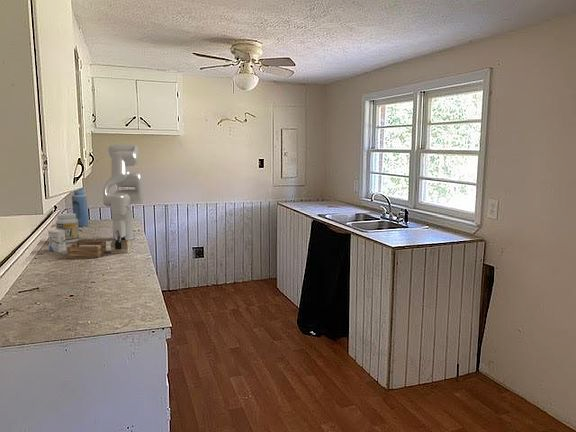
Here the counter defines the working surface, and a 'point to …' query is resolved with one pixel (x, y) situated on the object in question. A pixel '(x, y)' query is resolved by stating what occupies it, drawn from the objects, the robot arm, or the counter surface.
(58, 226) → the supplement tub
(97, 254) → the crate
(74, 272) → the counter surface
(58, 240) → the ink box
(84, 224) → the bottle
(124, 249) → the small crate
